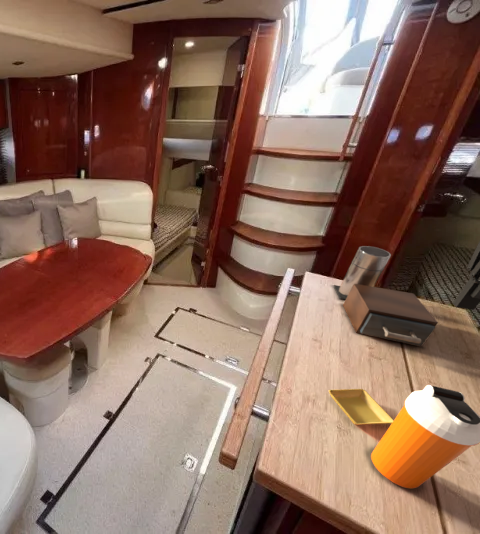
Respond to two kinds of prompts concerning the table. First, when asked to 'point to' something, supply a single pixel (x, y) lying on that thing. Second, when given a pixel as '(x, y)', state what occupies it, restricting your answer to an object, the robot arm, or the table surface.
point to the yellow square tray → (360, 407)
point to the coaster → (339, 293)
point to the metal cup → (364, 268)
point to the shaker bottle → (426, 436)
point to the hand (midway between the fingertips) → (462, 306)
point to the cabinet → (384, 306)
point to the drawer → (397, 329)
